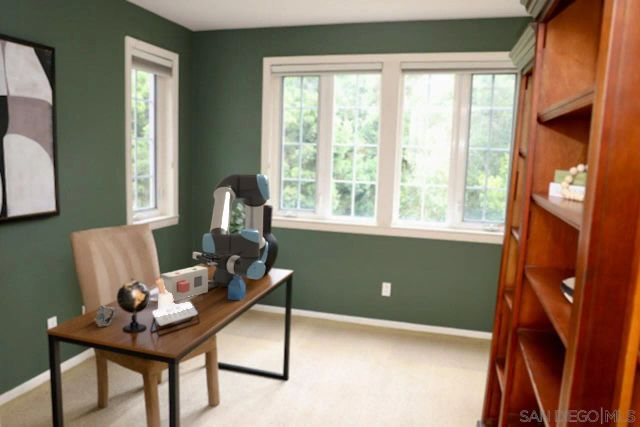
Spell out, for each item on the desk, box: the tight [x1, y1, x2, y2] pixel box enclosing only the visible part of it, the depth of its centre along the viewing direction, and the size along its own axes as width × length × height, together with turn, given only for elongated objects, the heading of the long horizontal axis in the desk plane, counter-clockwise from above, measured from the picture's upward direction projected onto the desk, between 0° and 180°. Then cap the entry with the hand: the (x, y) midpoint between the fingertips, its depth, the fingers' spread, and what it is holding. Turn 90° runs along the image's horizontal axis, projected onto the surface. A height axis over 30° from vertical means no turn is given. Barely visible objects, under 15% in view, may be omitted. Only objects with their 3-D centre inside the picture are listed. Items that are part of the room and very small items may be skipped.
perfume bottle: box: [227, 274, 247, 301], centre depth 218 cm, size 6×6×12 cm
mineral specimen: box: [94, 305, 120, 328], centre depth 182 cm, size 10×8×10 cm
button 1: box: [194, 276, 202, 287], centre depth 221 cm, size 4×6×4 cm
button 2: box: [177, 281, 190, 293], centre depth 211 cm, size 4×6×4 cm
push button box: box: [159, 265, 217, 303], centre depth 221 cm, size 30×7×12 cm, turn 145°
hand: (194, 255), depth 204 cm, fingers closed
